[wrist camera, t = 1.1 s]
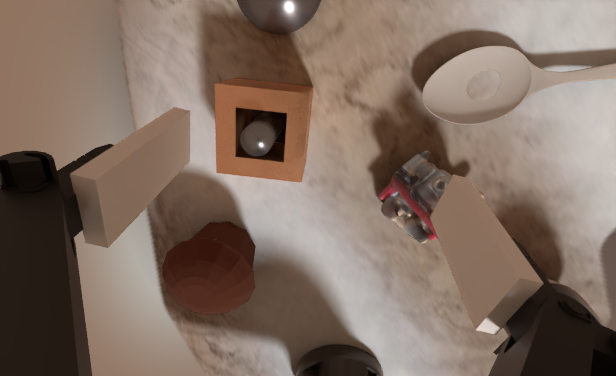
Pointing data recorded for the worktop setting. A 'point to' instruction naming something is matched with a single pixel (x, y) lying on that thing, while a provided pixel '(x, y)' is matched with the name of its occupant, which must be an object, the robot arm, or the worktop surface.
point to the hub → (279, 13)
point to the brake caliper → (415, 196)
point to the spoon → (513, 87)
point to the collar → (238, 115)
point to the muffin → (211, 269)
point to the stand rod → (262, 133)
